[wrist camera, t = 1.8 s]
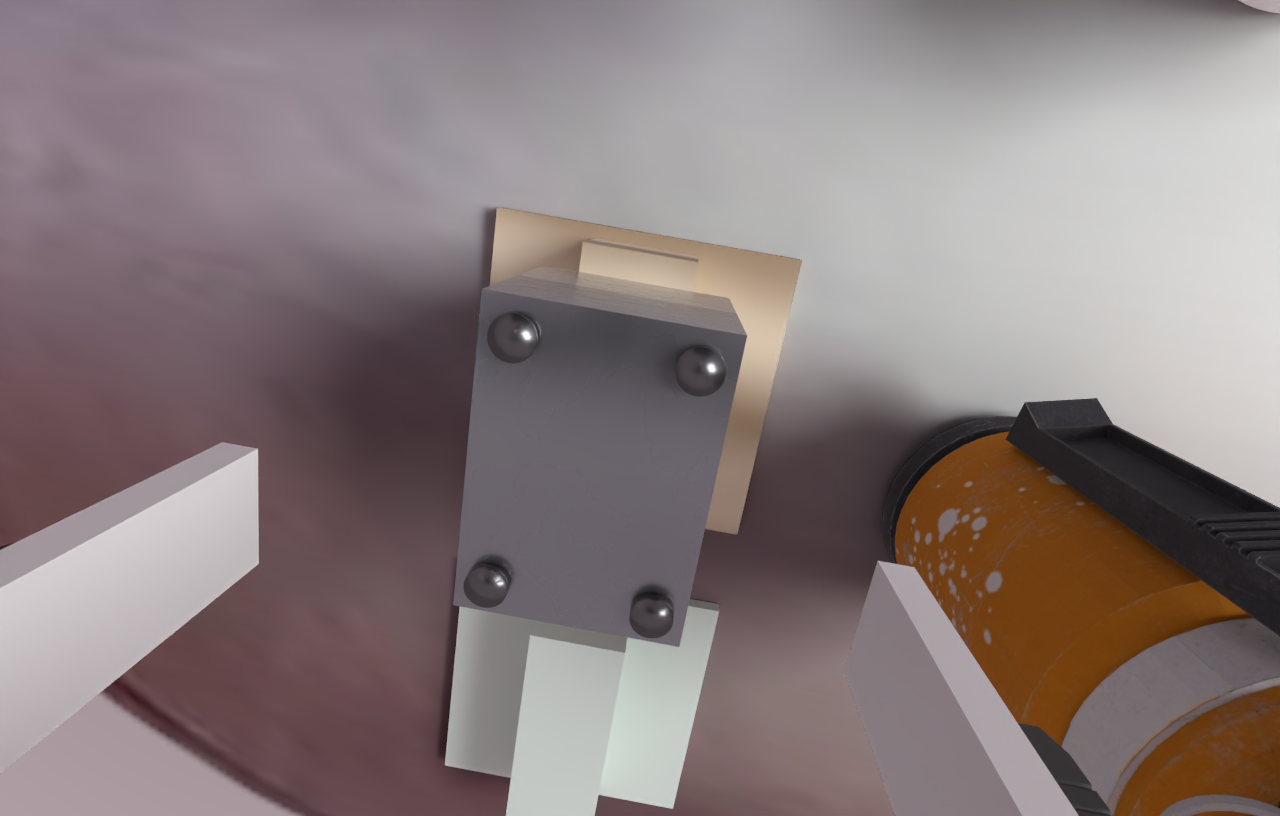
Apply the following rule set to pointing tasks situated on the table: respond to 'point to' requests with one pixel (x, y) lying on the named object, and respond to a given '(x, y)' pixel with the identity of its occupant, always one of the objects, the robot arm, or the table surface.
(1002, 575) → the canister
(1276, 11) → the mug
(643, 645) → the stand
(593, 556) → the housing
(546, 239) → the stand
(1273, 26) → the table surface
